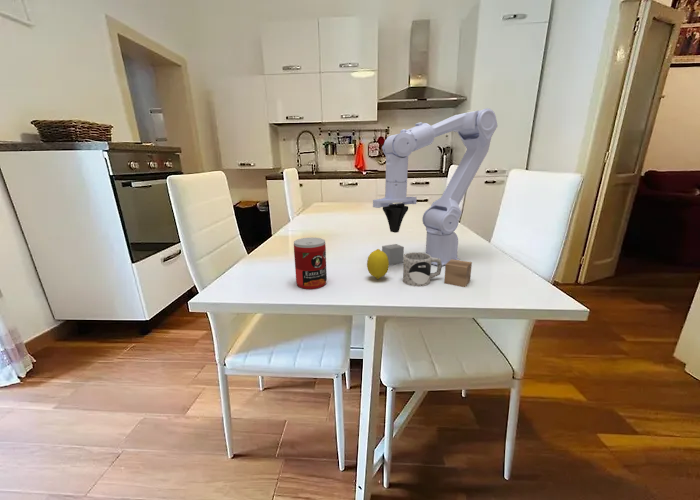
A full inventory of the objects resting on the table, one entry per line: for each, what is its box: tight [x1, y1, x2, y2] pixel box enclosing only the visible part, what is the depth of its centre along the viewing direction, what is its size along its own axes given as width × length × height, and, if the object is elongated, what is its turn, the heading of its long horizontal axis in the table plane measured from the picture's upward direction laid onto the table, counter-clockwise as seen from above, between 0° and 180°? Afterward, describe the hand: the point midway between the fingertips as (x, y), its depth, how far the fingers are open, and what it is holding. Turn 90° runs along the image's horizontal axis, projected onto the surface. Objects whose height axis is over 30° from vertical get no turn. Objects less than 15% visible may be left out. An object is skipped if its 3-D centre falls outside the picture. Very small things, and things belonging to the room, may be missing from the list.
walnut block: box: [444, 259, 473, 288], centre depth 78 cm, size 5×5×5 cm
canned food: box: [293, 237, 328, 290], centre depth 77 cm, size 8×8×11 cm
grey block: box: [381, 243, 405, 266], centre depth 94 cm, size 5×4×5 cm
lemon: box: [366, 248, 390, 280], centre depth 80 cm, size 6×6×8 cm
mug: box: [402, 252, 442, 287], centre depth 79 cm, size 10×7×7 cm
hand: (394, 231), depth 87 cm, fingers closed
